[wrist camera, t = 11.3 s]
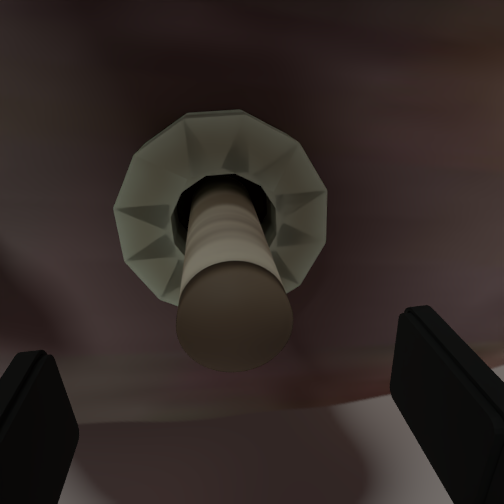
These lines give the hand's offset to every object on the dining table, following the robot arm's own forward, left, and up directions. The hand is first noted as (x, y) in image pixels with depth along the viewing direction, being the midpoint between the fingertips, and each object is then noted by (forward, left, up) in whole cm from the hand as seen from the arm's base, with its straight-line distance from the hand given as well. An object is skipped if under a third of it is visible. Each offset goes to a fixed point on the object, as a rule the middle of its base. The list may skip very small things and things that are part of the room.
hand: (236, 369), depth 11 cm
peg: (0, 0, -17) cm, 17 cm away
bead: (0, 0, -17) cm, 17 cm away
